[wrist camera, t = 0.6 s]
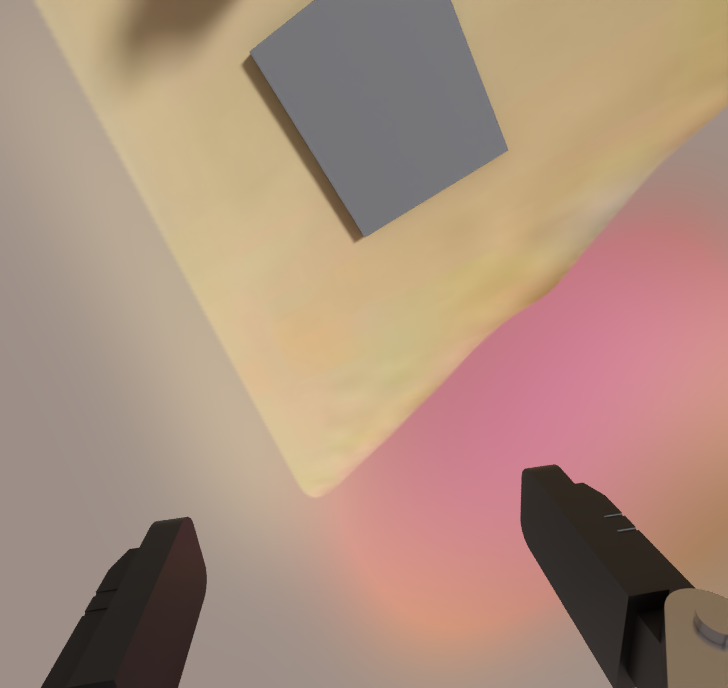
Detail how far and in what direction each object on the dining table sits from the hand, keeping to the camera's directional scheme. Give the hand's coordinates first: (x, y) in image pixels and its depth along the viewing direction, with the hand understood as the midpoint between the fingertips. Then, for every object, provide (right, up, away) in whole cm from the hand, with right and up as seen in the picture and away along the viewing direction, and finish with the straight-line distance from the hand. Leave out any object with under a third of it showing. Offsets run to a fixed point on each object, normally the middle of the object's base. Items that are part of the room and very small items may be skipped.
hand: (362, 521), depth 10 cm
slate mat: (+2, +21, +19) cm, 28 cm away
